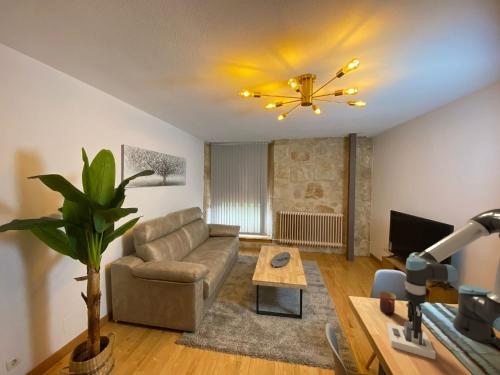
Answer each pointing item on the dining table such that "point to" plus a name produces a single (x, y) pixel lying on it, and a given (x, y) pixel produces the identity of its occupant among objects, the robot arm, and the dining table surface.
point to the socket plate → (400, 342)
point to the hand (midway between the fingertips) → (413, 340)
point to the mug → (387, 302)
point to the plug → (408, 332)
